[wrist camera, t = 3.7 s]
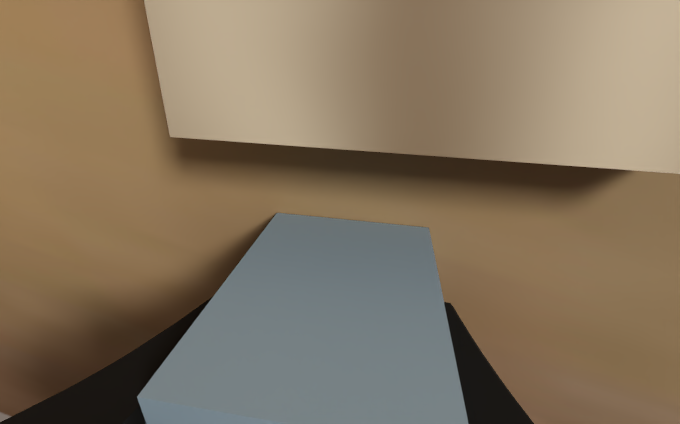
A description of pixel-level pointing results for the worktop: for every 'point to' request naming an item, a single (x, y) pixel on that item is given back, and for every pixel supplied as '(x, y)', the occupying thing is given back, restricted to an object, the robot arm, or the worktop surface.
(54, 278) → the worktop surface
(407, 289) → the blue block
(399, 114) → the birch base
